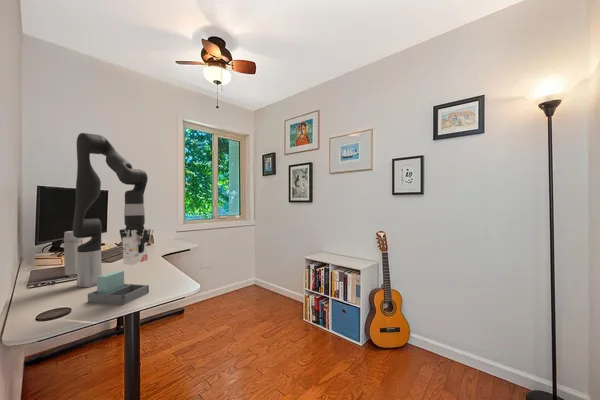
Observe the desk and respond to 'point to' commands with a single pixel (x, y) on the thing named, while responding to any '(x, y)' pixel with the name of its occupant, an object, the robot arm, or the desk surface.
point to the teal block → (110, 282)
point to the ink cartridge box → (133, 250)
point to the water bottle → (71, 252)
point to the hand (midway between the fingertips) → (135, 252)
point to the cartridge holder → (120, 295)
